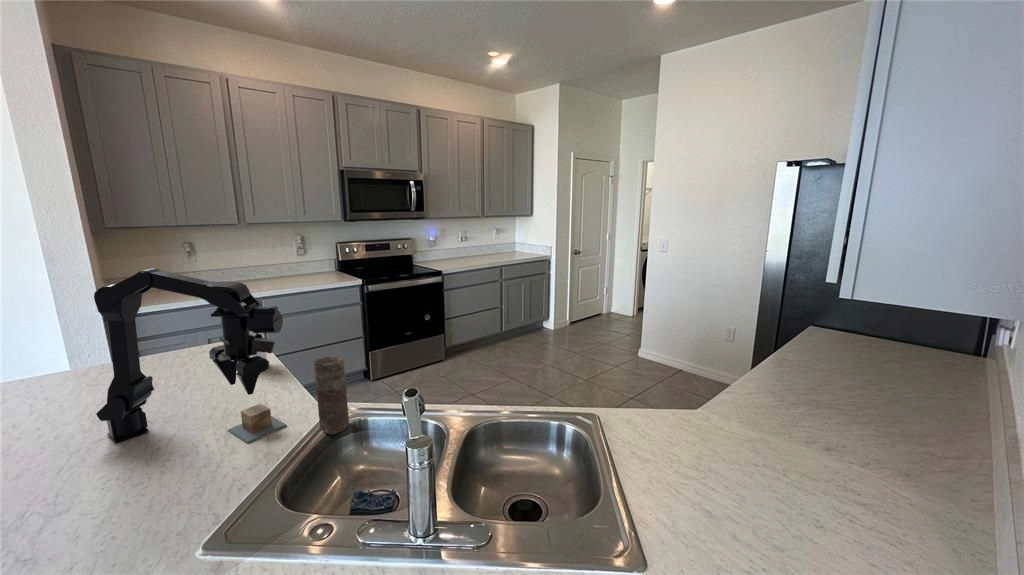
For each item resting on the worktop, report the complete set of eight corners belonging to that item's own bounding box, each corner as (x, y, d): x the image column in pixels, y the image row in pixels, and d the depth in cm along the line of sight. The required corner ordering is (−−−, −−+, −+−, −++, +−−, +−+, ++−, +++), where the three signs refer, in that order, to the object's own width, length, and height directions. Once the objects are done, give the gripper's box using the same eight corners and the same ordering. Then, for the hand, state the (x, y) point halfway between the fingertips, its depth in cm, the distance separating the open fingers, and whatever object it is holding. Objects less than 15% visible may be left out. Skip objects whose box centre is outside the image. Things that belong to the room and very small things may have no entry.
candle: (313, 429, 110) (307, 360, 106) (336, 417, 116) (331, 351, 112) (332, 438, 107) (327, 366, 102) (355, 425, 113) (351, 356, 109)
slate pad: (247, 443, 103) (247, 441, 103) (228, 431, 108) (227, 429, 108) (286, 426, 111) (286, 424, 111) (267, 415, 117) (266, 413, 117)
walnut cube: (252, 434, 106) (250, 416, 105) (242, 428, 109) (240, 411, 108) (272, 425, 111) (270, 408, 110) (262, 420, 113) (260, 403, 112)
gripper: (288, 332, 106) (291, 388, 109) (251, 318, 116) (255, 370, 119) (241, 343, 97) (247, 404, 100) (205, 327, 106) (211, 383, 110)
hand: (241, 389), depth 107 cm, fingers open, 9 cm apart
